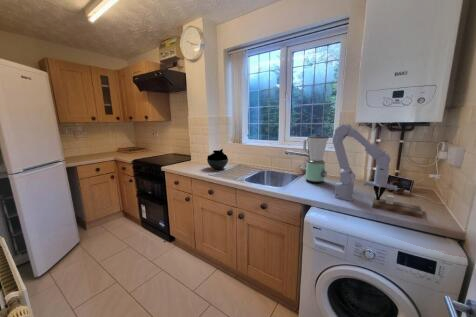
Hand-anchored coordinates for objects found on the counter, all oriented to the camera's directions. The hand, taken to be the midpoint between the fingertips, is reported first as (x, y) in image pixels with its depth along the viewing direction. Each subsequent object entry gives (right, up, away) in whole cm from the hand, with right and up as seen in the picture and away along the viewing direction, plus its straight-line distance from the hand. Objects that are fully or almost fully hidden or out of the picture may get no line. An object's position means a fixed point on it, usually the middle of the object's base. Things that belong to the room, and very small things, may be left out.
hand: (377, 199), depth 109 cm
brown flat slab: (+6, -4, -4) cm, 9 cm away
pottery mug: (+24, +1, +20) cm, 31 cm away
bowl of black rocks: (-97, +12, +82) cm, 127 cm away
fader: (+4, -1, -3) cm, 5 cm away
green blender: (-19, +5, +43) cm, 47 cm away
